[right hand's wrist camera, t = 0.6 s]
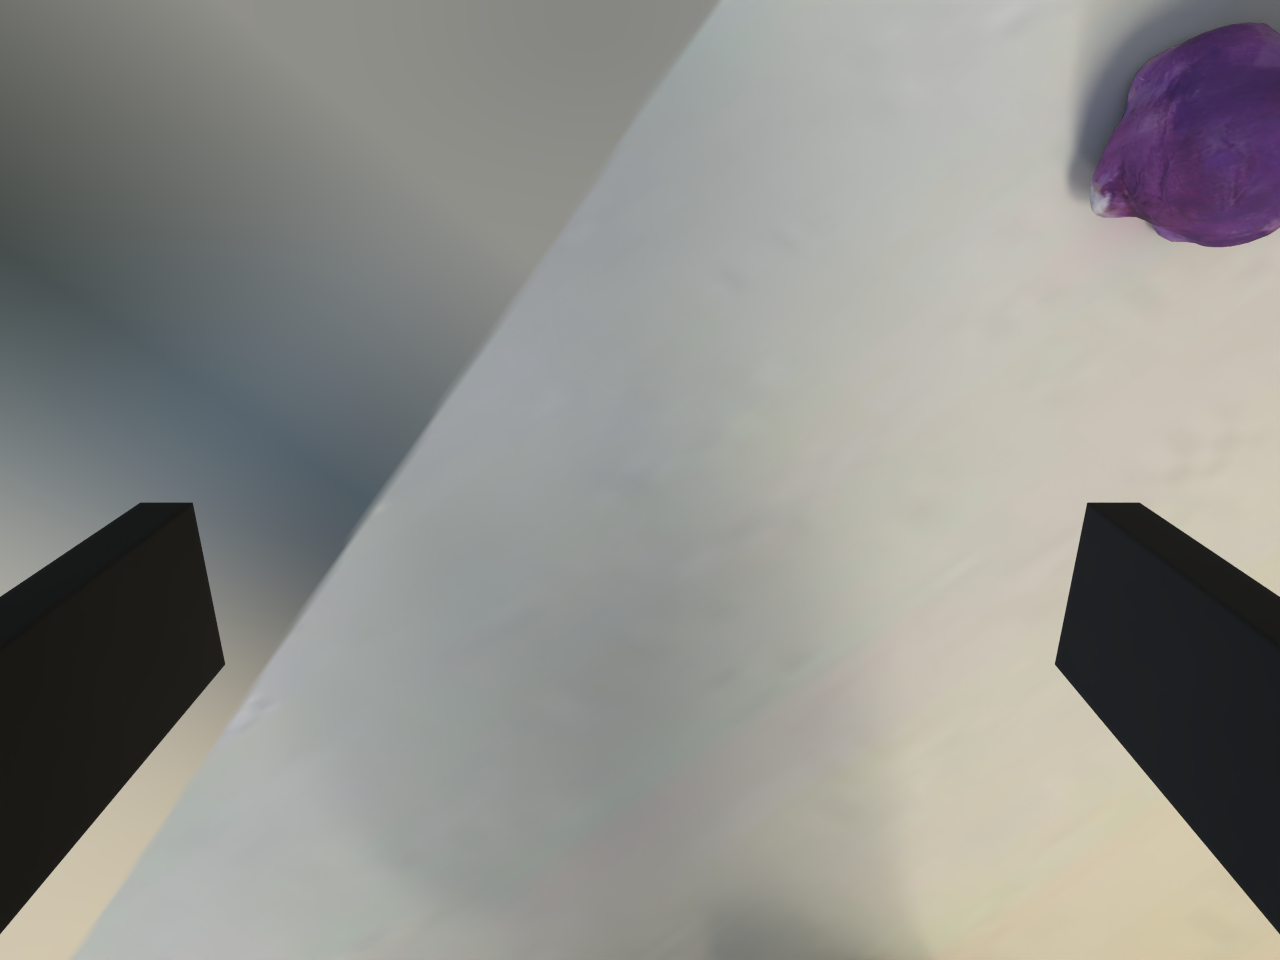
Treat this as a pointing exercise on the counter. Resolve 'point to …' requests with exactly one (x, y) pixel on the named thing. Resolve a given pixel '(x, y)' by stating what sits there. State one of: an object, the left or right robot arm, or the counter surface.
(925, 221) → the counter surface
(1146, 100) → the figurine
